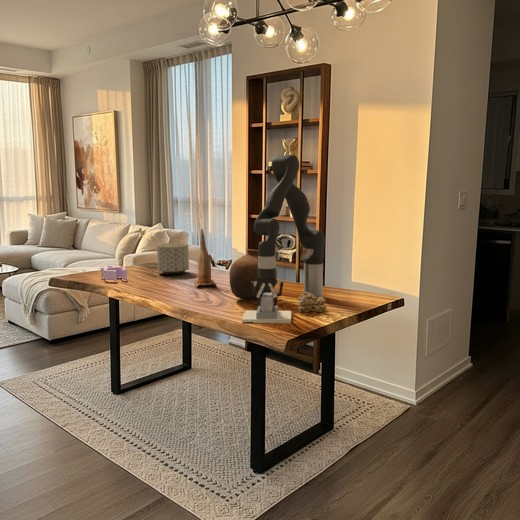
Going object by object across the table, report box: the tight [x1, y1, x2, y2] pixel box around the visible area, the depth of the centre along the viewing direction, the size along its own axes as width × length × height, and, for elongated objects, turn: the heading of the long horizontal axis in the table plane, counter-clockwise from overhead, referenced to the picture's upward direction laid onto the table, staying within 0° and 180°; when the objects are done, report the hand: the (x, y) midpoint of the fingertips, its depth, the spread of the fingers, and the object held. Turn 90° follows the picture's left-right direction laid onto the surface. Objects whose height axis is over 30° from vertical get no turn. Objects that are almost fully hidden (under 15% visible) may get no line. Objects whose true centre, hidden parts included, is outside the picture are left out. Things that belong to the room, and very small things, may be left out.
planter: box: [156, 242, 190, 275], centre depth 315 cm, size 19×19×18 cm
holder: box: [241, 304, 292, 324], centre depth 215 cm, size 14×20×4 cm
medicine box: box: [260, 292, 274, 312], centre depth 214 cm, size 8×4×9 cm, turn 175°
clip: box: [100, 265, 128, 282], centre depth 300 cm, size 20×12×7 cm, turn 41°
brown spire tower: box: [194, 228, 217, 289], centre depth 278 cm, size 11×12×32 cm
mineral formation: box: [297, 291, 327, 314], centre depth 228 cm, size 8×13×15 cm
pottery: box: [229, 248, 278, 302], centre depth 246 cm, size 23×23×25 cm
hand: (267, 305), depth 214 cm, fingers open, 6 cm apart
